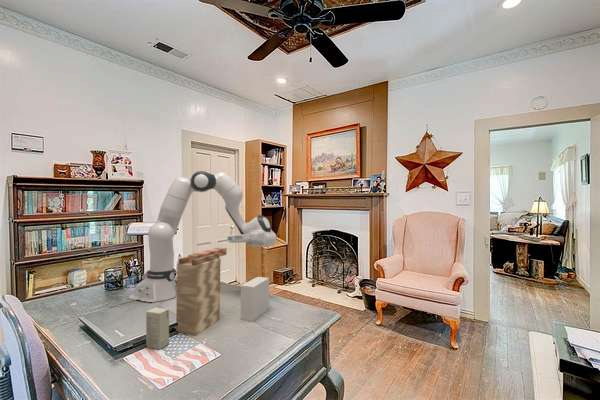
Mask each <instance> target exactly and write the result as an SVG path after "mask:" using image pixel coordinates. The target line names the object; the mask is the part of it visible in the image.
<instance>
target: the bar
mask: <svg viewBox="0 0 600 400" xmlns="http://www.w3.org/2000/svg"><path fill="white" fill-rule="evenodd" d="M227 249H228V248H227V247H220V246H219V247H216V248H211V249H207V250H204V251H203V250H202V251H198V252H196V253H195V252H194V253H192V254H188V255H187V256H188V263H192V260H194V259H197V258H201V257H205V256H208V255H212V254H216V253H219V258H221V257H223V256H227Z"/></svg>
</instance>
